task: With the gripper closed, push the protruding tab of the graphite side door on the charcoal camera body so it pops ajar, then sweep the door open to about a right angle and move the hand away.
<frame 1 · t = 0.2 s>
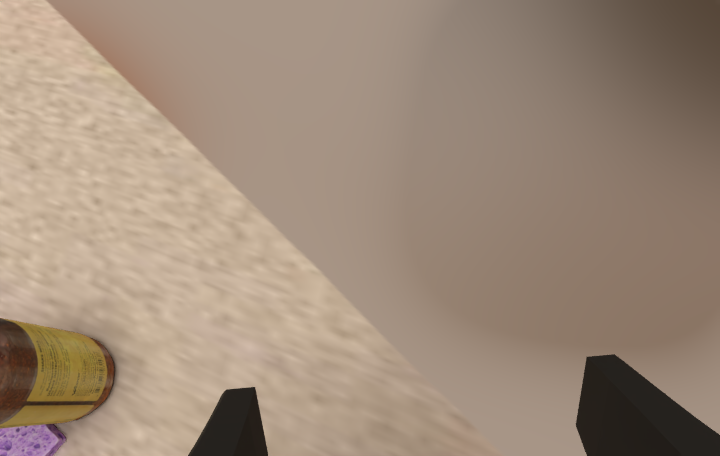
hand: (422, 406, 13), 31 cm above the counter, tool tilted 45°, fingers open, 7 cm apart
sauce bottle: (76, 380, 43), on the counter
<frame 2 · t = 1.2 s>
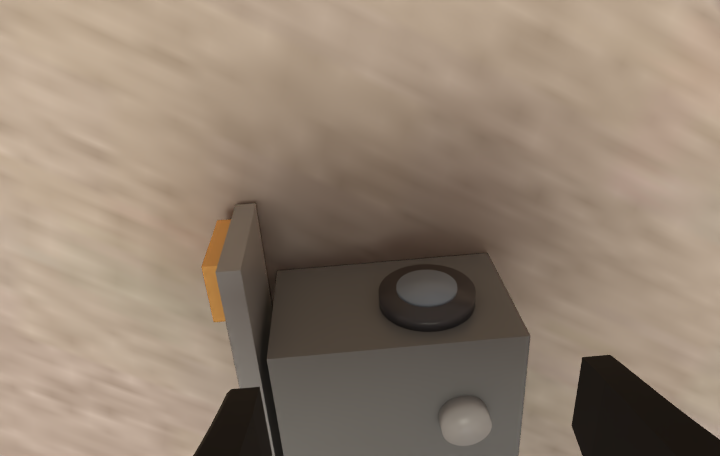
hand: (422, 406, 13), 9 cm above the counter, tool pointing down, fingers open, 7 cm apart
camera body: (387, 363, 24), on the counter
side door: (261, 395, 21), point 3 cm above the counter, hinge at 0.0°
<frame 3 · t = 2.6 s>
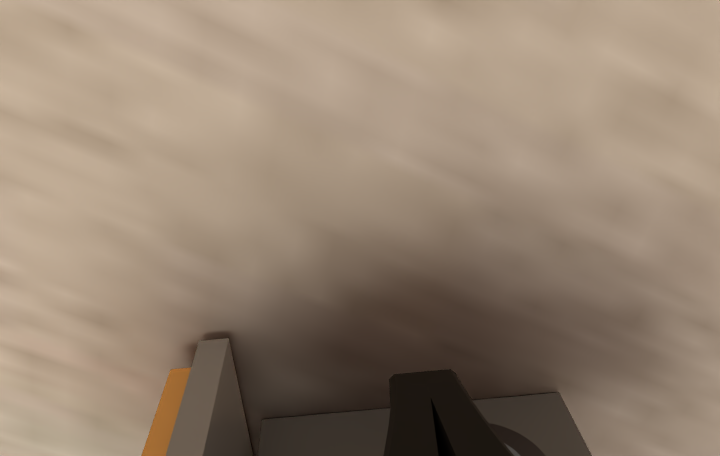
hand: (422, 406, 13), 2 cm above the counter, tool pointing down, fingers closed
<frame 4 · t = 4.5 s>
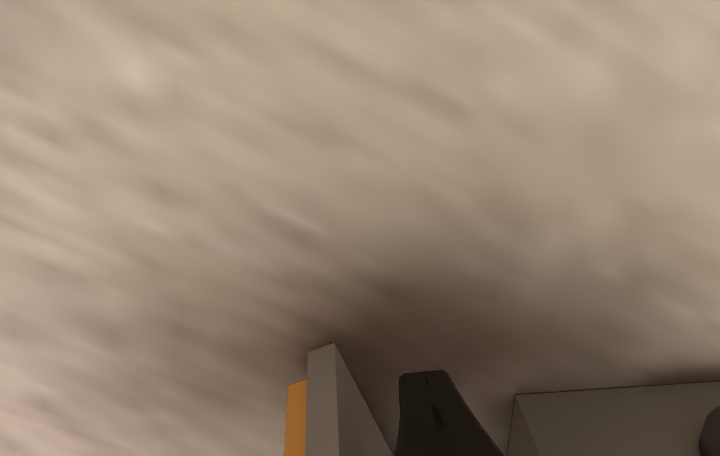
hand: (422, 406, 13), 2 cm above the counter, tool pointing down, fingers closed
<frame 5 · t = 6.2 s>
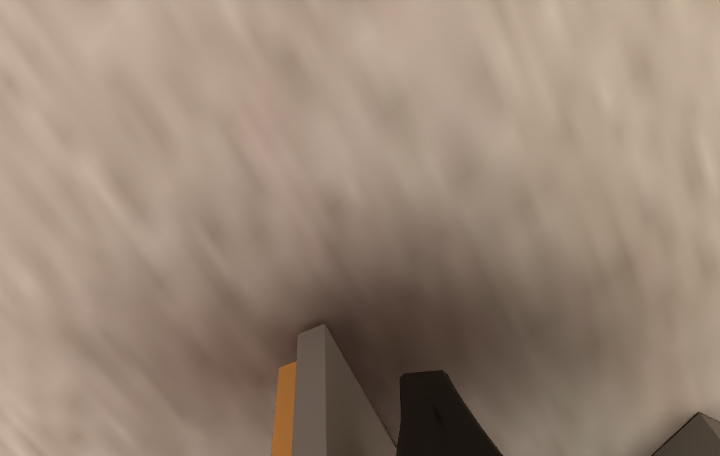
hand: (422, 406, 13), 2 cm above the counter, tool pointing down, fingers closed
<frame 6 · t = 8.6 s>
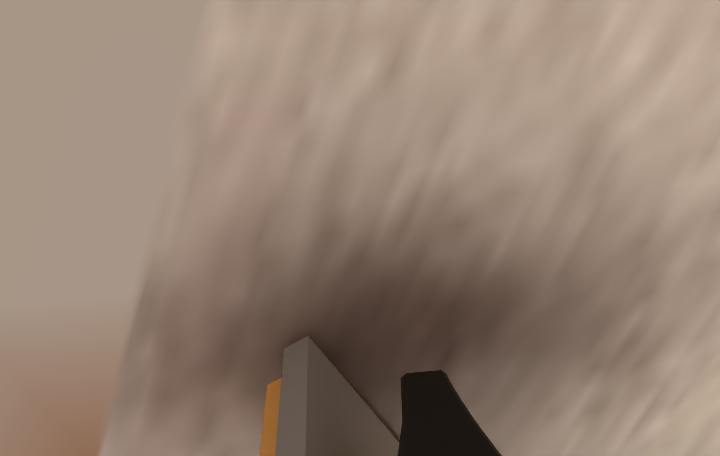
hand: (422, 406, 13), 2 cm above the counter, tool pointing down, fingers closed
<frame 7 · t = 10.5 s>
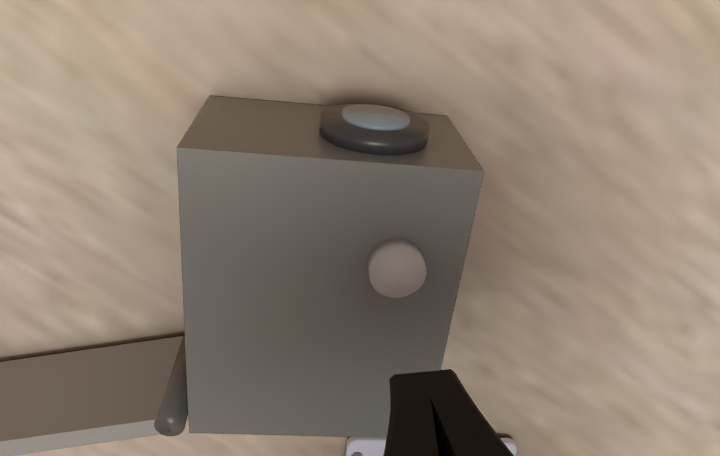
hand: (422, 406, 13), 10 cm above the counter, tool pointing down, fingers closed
camera body: (320, 236, 22), on the counter
side door: (17, 407, 21), point 3 cm above the counter, hinge at 103.3°
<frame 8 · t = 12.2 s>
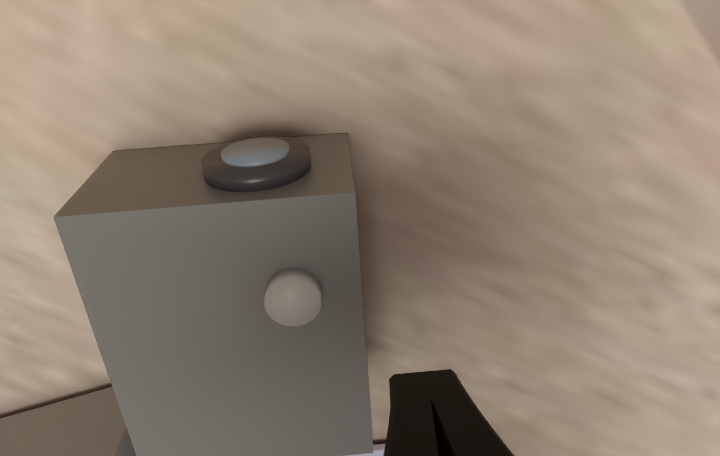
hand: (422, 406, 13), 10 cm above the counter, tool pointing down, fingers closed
camera body: (252, 266, 22), on the counter
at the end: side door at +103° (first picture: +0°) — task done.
